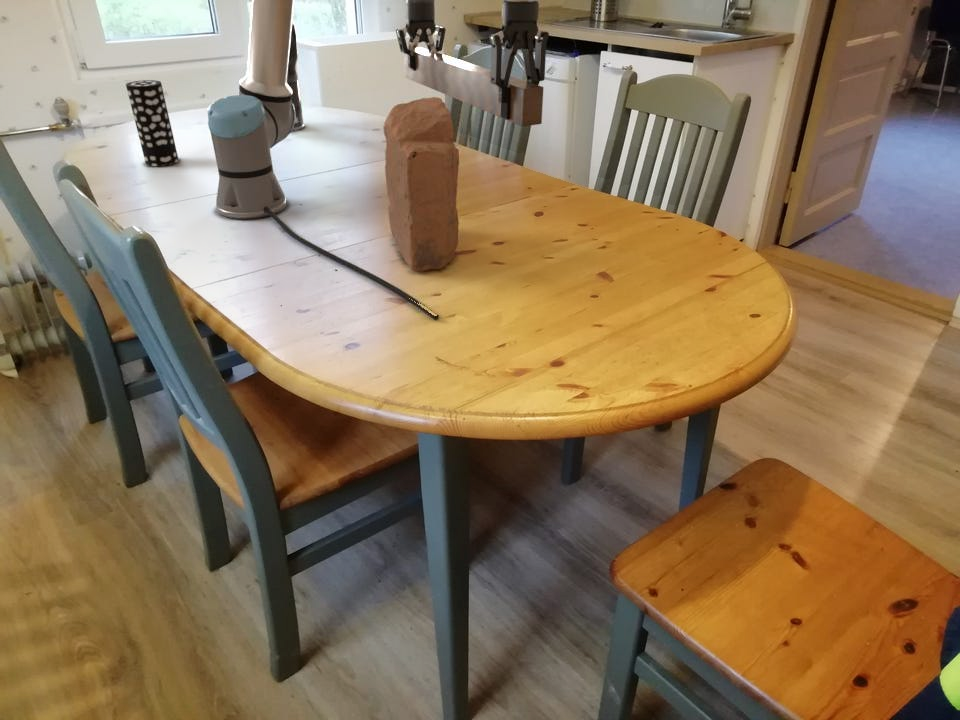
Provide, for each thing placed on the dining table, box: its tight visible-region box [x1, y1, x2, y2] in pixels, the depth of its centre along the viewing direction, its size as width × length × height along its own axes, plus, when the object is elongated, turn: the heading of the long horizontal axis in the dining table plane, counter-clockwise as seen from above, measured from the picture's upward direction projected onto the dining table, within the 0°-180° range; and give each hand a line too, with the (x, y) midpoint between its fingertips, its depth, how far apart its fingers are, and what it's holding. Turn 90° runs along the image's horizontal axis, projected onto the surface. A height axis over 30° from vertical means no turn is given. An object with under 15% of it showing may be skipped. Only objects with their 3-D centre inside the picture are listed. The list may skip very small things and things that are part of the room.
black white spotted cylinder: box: [125, 79, 179, 167], centre depth 181 cm, size 8×8×20 cm
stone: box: [383, 96, 460, 272], centre depth 131 cm, size 22×11×28 cm, turn 18°
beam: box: [403, 46, 544, 127], centre depth 170 cm, size 62×5×8 cm, turn 29°
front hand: (516, 116), depth 154 cm, fingers closed on beam, 5 cm apart
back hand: (422, 68), depth 189 cm, fingers closed on beam, 5 cm apart
